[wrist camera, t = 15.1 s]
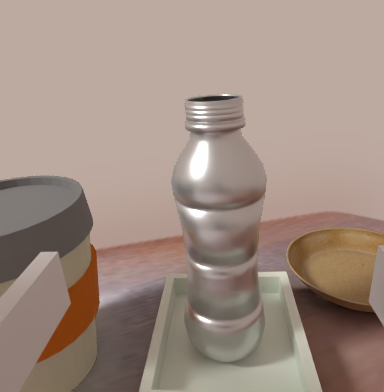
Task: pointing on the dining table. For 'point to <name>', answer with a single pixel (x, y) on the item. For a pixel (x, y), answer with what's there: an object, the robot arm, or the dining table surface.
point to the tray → (238, 370)
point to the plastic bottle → (220, 228)
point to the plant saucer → (337, 264)
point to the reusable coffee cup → (71, 265)
